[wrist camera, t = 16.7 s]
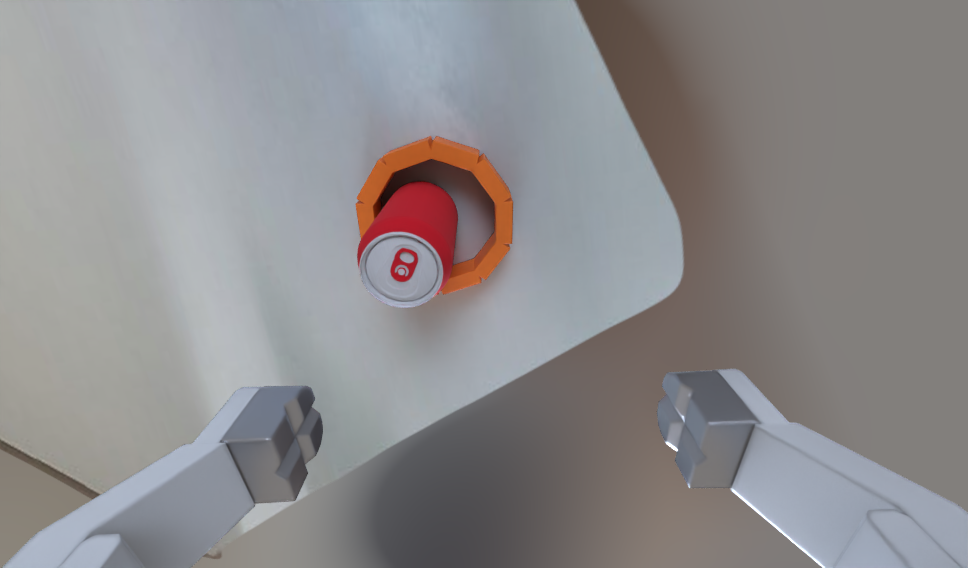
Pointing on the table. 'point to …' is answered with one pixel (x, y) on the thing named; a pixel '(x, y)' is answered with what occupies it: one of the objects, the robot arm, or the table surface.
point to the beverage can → (410, 246)
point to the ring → (458, 157)
